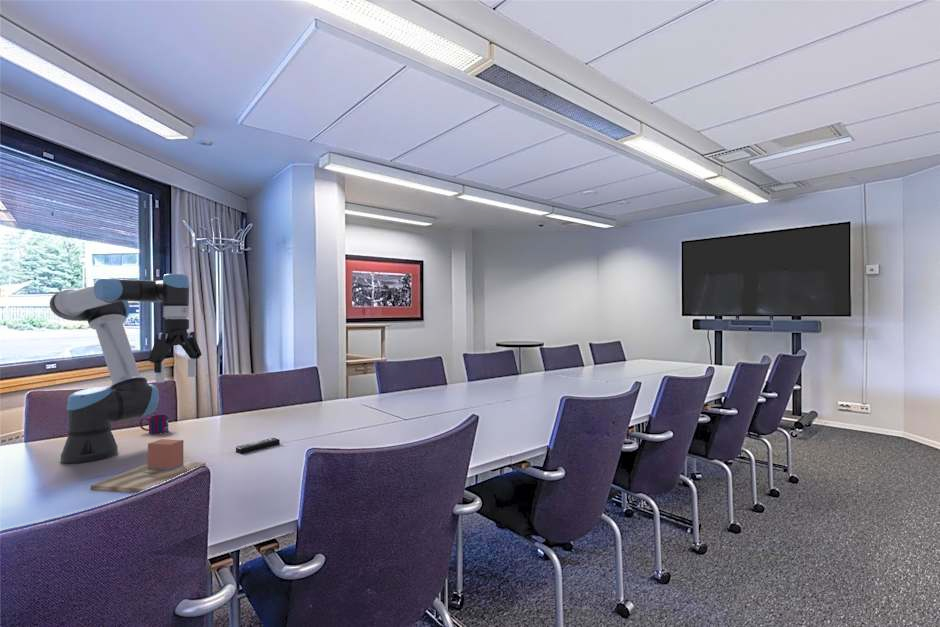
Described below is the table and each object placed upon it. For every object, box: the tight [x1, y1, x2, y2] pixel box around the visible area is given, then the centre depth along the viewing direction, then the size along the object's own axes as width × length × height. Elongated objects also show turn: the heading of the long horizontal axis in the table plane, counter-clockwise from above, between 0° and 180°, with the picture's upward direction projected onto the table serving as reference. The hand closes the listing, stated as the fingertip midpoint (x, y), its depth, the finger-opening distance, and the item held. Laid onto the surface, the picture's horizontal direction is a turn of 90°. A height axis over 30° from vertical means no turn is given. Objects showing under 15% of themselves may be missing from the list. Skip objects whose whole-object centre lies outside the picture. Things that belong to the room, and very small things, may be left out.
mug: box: [139, 414, 169, 435], centre depth 187 cm, size 7×10×7 cm
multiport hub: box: [235, 437, 281, 455], centre depth 164 cm, size 4×14×2 cm, turn 142°
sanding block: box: [147, 438, 184, 471], centre depth 140 cm, size 8×5×8 cm, turn 80°
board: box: [90, 460, 207, 494], centre depth 135 cm, size 18×22×1 cm
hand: (176, 379), depth 155 cm, fingers open, 13 cm apart
